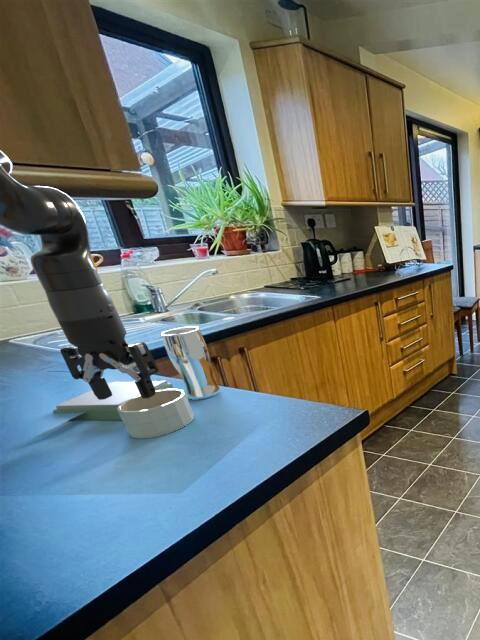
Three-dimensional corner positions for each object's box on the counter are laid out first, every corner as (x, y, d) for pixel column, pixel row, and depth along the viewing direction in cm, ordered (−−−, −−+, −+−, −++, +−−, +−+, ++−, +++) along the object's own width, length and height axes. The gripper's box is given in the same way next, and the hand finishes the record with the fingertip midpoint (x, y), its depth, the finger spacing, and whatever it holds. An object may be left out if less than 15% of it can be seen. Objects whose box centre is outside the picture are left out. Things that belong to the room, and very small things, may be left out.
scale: (58, 421, 81) (50, 407, 80) (116, 393, 93) (110, 380, 92) (125, 419, 81) (119, 405, 79) (176, 392, 93) (171, 379, 91)
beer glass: (199, 402, 87) (173, 336, 81) (178, 398, 89) (151, 334, 83) (229, 389, 93) (207, 327, 87) (209, 386, 95) (186, 325, 89)
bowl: (115, 439, 74) (101, 412, 72) (159, 413, 83) (148, 389, 81) (167, 438, 74) (156, 411, 71) (206, 412, 83) (197, 388, 80)
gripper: (23, 320, 66) (71, 407, 73) (106, 317, 66) (147, 405, 72) (69, 309, 73) (110, 390, 80) (145, 307, 72) (179, 388, 79)
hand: (127, 397), depth 76 cm, fingers open, 8 cm apart
